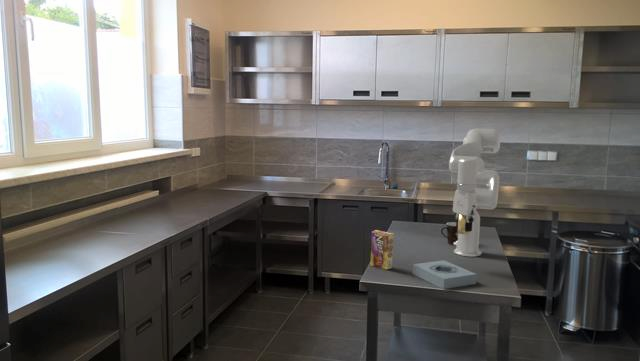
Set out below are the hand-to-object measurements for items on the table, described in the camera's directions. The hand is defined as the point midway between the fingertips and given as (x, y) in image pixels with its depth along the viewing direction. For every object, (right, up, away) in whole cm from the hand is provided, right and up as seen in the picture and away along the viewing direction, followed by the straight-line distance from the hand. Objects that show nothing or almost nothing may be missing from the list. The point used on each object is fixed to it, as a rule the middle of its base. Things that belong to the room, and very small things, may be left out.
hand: (463, 229), depth 225 cm
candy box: (-35, -16, +2) cm, 39 cm away
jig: (-11, -19, -12) cm, 25 cm away
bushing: (0, -1, 0) cm, 2 cm away
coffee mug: (+6, -11, +45) cm, 46 cm away
